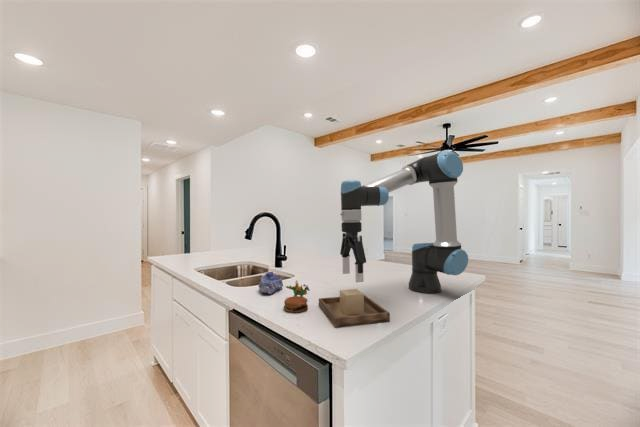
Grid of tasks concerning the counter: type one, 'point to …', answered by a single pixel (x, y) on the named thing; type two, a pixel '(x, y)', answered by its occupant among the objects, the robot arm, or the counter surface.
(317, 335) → the counter surface
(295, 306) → the burger
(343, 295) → the tan block
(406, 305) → the counter surface
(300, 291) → the figurine
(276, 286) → the mineral
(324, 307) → the tray
